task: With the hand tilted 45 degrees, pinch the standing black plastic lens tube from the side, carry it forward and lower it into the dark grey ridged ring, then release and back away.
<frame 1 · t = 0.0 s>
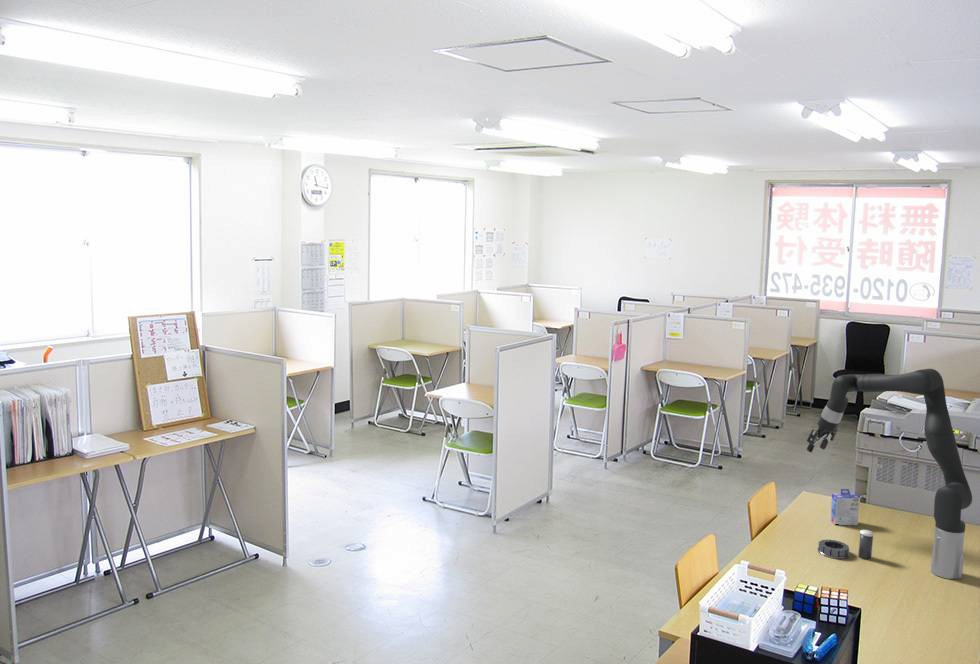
hand: (815, 449, 325), 31 cm above the table, tool tilted 20°, fingers open, 8 cm apart
lens tube: (864, 557, 295), on the table
dark grey ridged ring: (833, 552, 298), on the table
ink cartridge box: (843, 523, 329), on the table
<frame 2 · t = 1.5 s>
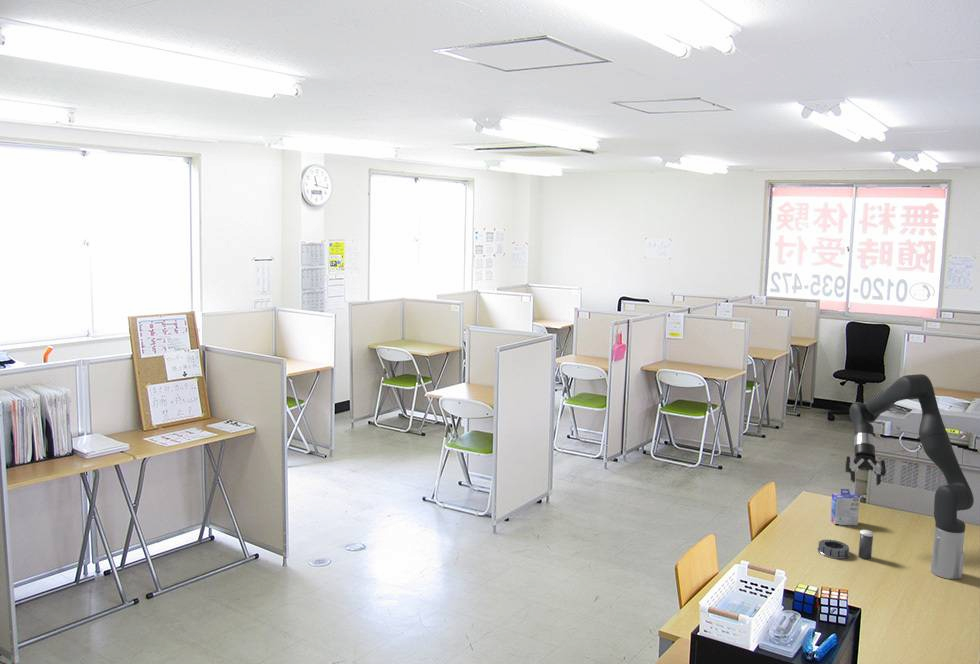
hand: (865, 483, 304), 25 cm above the table, tool tilted 45°, fingers open, 8 cm apart
nothing on the table moved.
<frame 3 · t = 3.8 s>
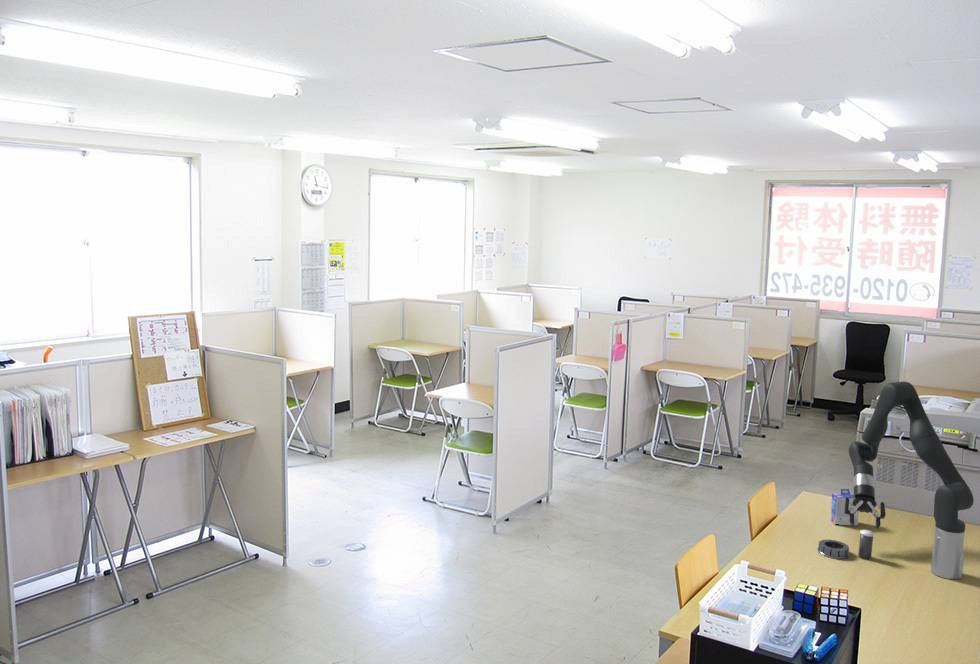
hand: (865, 525, 299), 10 cm above the table, tool tilted 45°, fingers open, 8 cm apart
nothing on the table moved.
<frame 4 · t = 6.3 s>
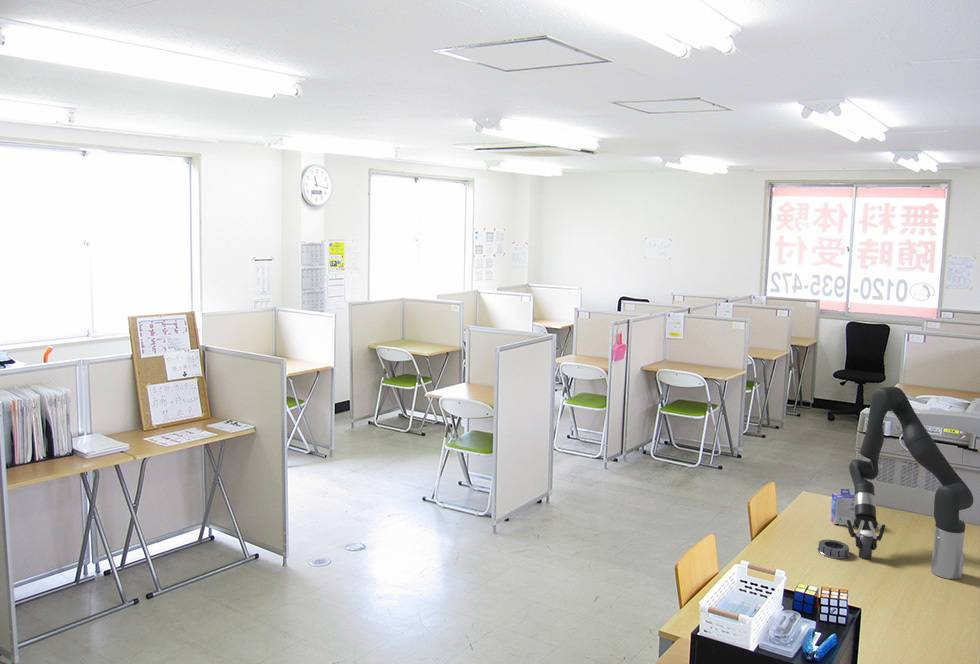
hand: (866, 548, 292), 4 cm above the table, tool tilted 45°, fingers closed on lens tube, 4 cm apart
lens tube: (864, 557, 295), on the table, touching gripper
everything else where it was.
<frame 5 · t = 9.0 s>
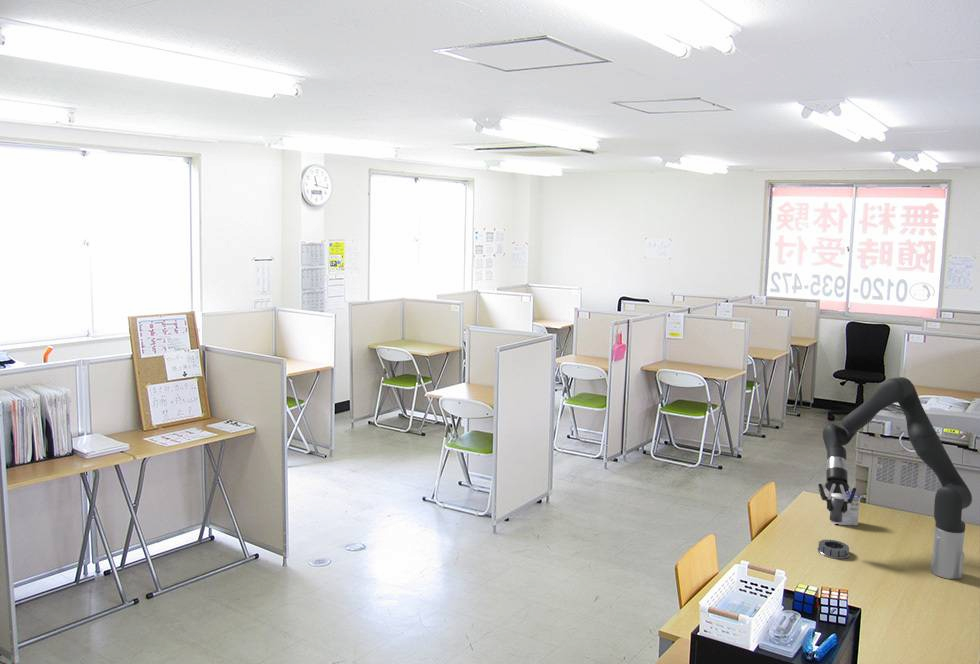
hand: (837, 511, 294), 17 cm above the table, tool tilted 45°, fingers closed on lens tube, 4 cm apart
lens tube: (835, 520, 297), point 13 cm above the table, touching gripper
everything else where it was.
when the fingers open (6 cm above the table, at t = 11.7 s): lens tube drops 1 cm, resting on dark grey ridged ring.
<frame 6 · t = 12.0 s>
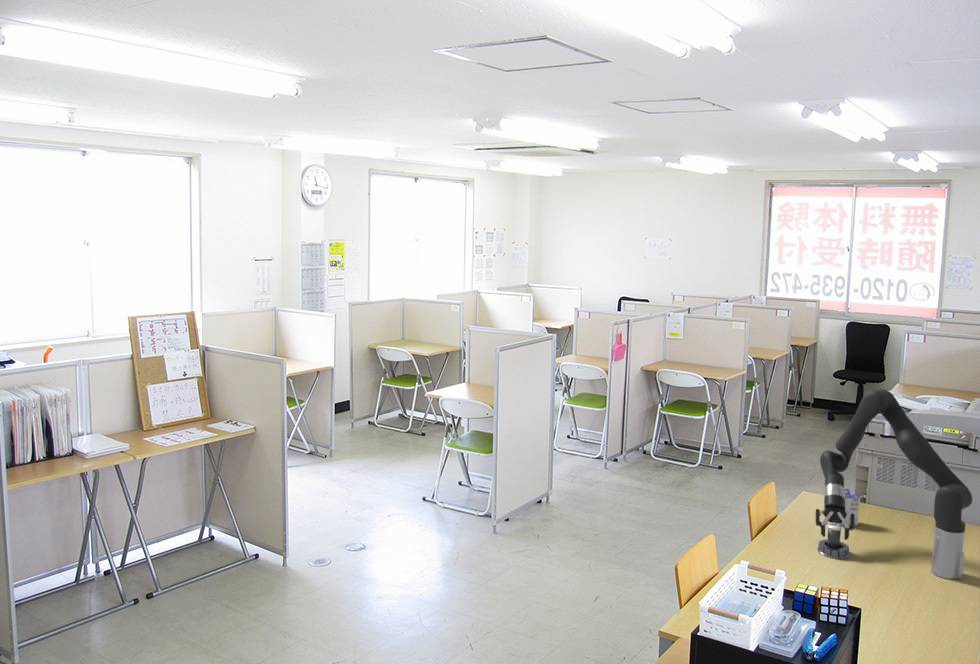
hand: (834, 537, 296), 7 cm above the table, tool tilted 45°, fingers open, 7 cm apart
lens tube: (832, 551, 298), point 1 cm above the table, touching dark grey ridged ring
everything else where it was.
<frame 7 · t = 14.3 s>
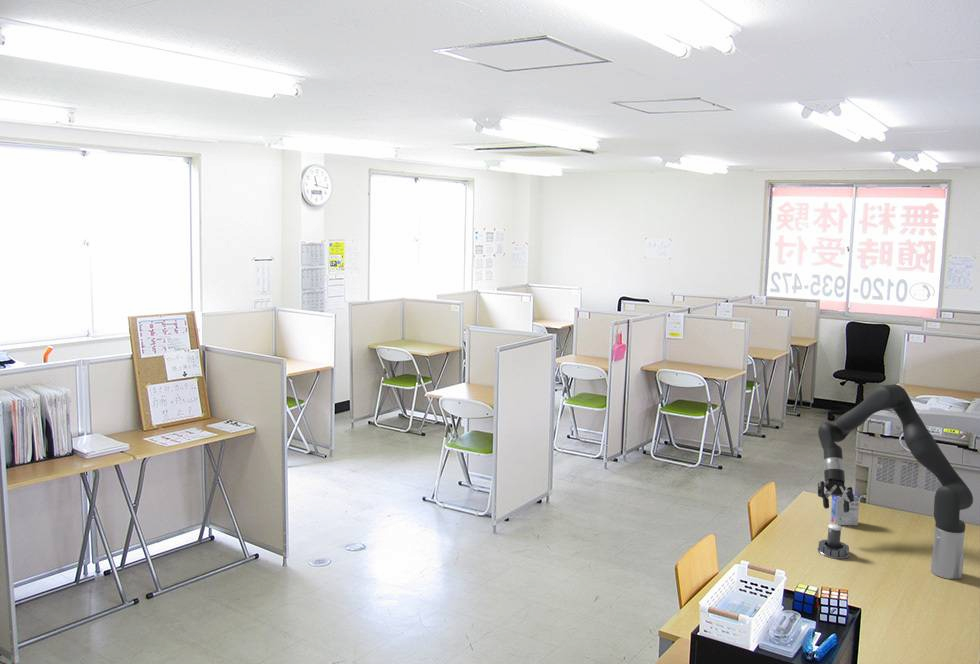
hand: (836, 510, 309), 13 cm above the table, tool tilted 35°, fingers open, 8 cm apart
nothing on the table moved.
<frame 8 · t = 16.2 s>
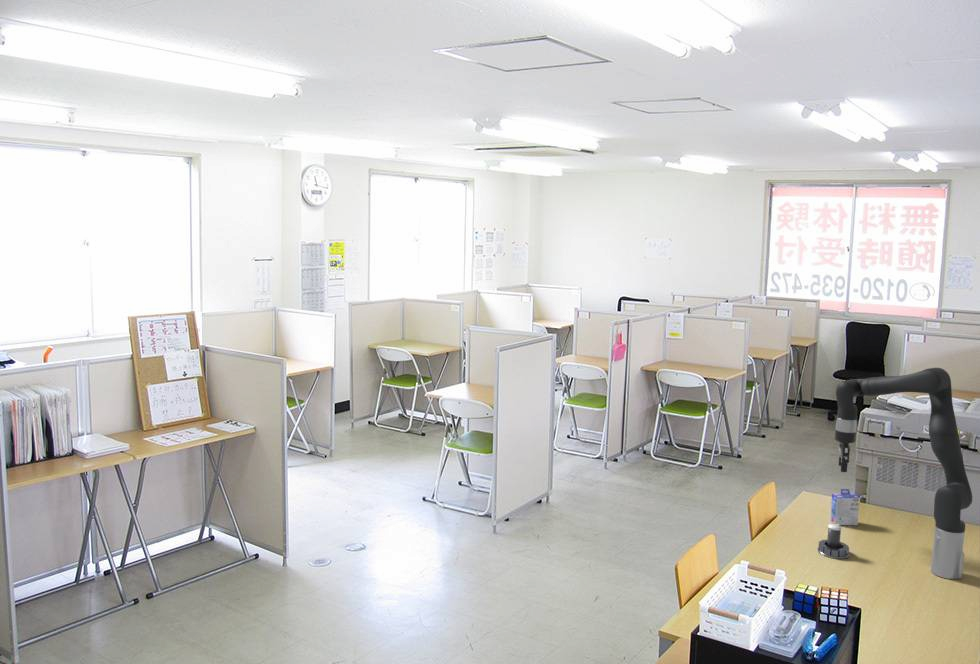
hand: (842, 468, 311), 28 cm above the table, tool pointing down, fingers open, 8 cm apart
nothing on the table moved.
at the end: lens tube 0.2 cm off-centre on the dark grey ridged ring, point 0.6 cm above the dark grey ridged ring's base; lens tube tilted 0°; the gripper is holding nothing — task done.
